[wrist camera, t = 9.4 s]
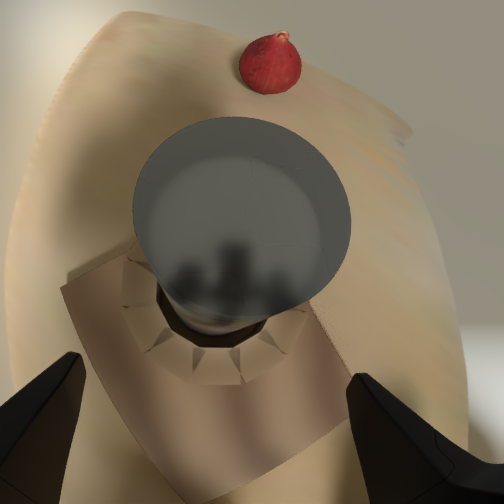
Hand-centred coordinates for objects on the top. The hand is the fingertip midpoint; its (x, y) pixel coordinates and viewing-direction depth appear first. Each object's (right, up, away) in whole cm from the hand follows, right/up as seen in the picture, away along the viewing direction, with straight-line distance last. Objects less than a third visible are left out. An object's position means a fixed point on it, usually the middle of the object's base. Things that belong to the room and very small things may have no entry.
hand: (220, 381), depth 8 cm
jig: (-2, -3, +10) cm, 11 cm away
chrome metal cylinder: (-2, +1, +10) cm, 10 cm away
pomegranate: (+2, +20, +19) cm, 28 cm away
